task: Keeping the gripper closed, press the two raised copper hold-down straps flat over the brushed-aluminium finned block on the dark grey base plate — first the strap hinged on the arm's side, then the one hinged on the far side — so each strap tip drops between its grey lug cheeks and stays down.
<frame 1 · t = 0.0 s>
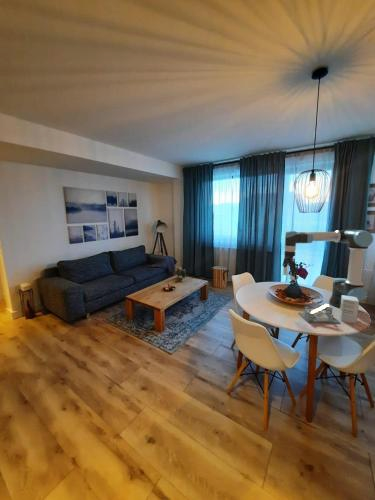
hand: (288, 277, 163), 28 cm above the table, fingers open, 13 cm apart
strap 1: (319, 305, 157), point 8 cm above the table, hinge at 30.0°
supplement box: (347, 319, 151), on the table
base plate: (318, 318, 154), on the table
strap 2: (318, 309, 149), point 8 cm above the table, hinge at 30.0°
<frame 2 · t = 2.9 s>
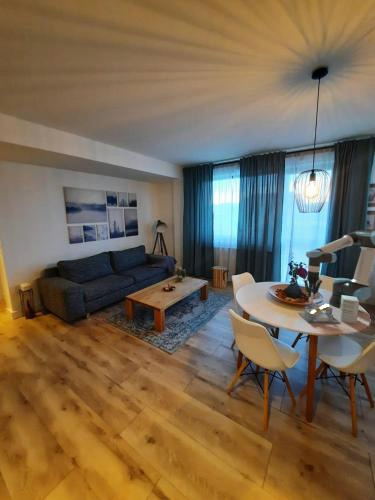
hand: (310, 301, 156), 12 cm above the table, fingers closed
strap 1: (318, 305, 157), point 8 cm above the table, hinge at 26.4°, touching gripper
everything else where it was.
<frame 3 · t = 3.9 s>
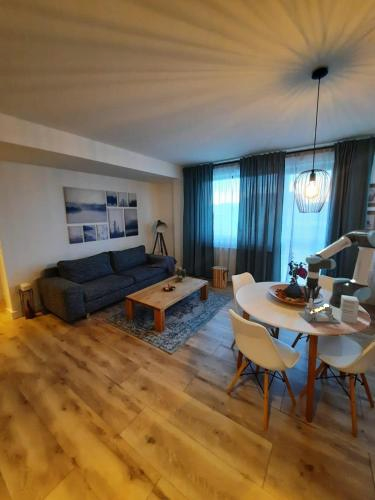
hand: (309, 306, 157), 7 cm above the table, fingers closed, pressing on strap 1
strap 1: (317, 308, 157), point 6 cm above the table, hinge at 6.5°, touching gripper
everything else where it was.
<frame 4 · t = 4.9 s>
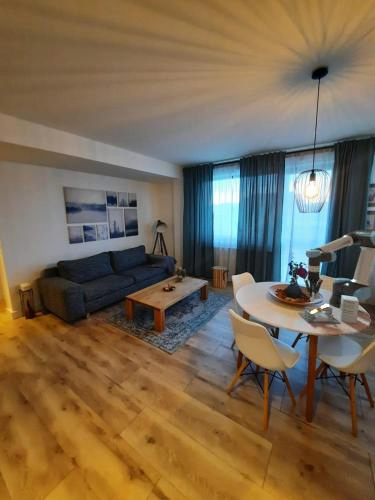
hand: (312, 300, 157), 12 cm above the table, fingers closed
strap 1: (317, 308, 157), point 6 cm above the table, hinge at 4.6°
everything else where it was.
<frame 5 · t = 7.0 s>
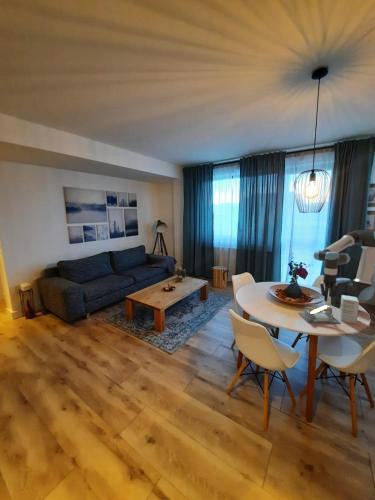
hand: (327, 305, 148), 12 cm above the table, fingers closed
strap 2: (319, 310, 149), point 8 cm above the table, hinge at 26.9°, touching gripper
everything else where it was.
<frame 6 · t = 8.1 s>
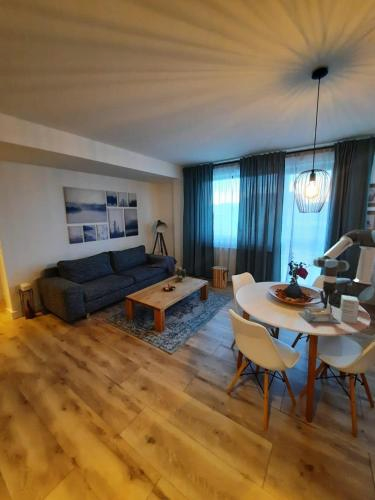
hand: (327, 312, 149), 6 cm above the table, fingers closed, pressing on strap 2
strap 2: (319, 313, 149), point 5 cm above the table, hinge at 4.1°, touching gripper
everything else where it was.
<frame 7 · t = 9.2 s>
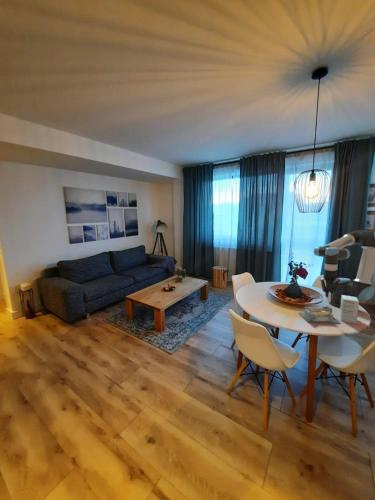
hand: (328, 301, 148), 15 cm above the table, fingers closed
strap 2: (319, 313, 149), point 5 cm above the table, hinge at 3.1°
everything else where it was.
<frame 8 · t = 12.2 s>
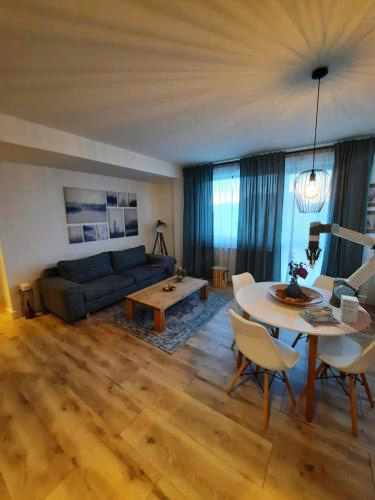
hand: (311, 268, 172), 32 cm above the table, fingers closed
nothing on the table moved.
at the end: strap 1 at +5° (first picture: +30°); strap 2 at +3° (first picture: +30°) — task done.
